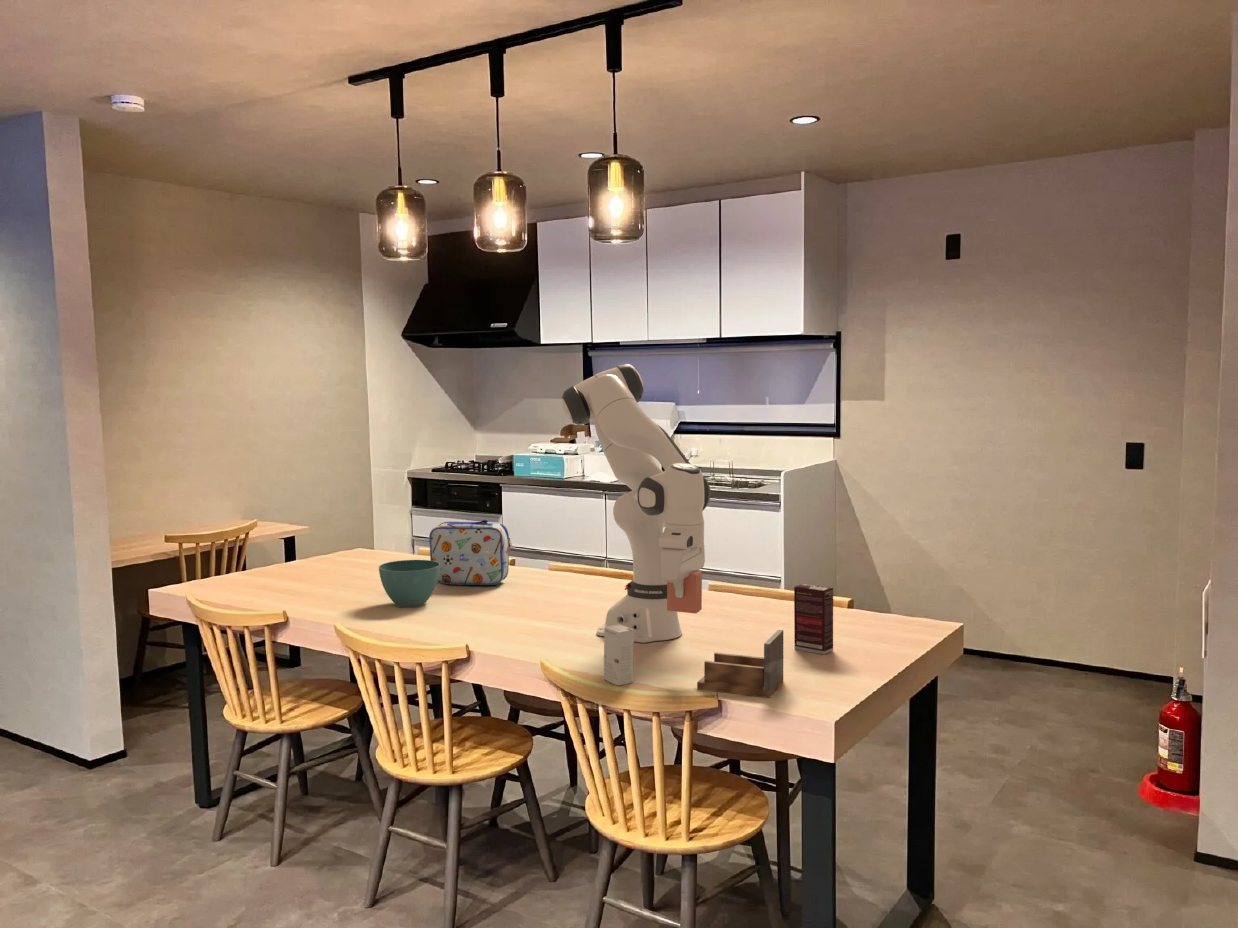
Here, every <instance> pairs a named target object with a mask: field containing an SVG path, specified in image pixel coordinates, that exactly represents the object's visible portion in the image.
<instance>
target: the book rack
mask: <svg viewBox="0 0 1238 928" xmlns="http://www.w3.org/2000/svg"><path fill="white" fill-rule="evenodd" d="M713 656H714V657H713V660H714V661H711V660H705V661H704V665H703V667H704V668H703V671H704V675H703V676H702V677H701V678H700V679H699V680H698V681H697V682H696V689H697V690H701V691H710V692H711V691H712V692H719V693H729V694H736V695H743V696H744V695H745V696H752V697H761V698H767V699H768V698H769V699H770V698H771V697H772V696H773V695H774V693H775V692H776V691H777V690H778V689H779V687H780V686H781V685H782V684H783V683H784V630H783V629H777V630H776V631H775V632H774V633H773V634H772V635H771V636H770V637H769V638H768V639H767V640H766V641H765V642H764V643H763V657H761V656H752V655H743V654H735V653H722V652H714V653H713Z"/></svg>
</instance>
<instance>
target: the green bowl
mask: <svg viewBox="0 0 1238 928" xmlns="http://www.w3.org/2000/svg"><path fill="white" fill-rule="evenodd" d="M378 572H379V573H378V574H379V578H380V581H381V585H382V587H383V589H384V591H385V593H386V595H387V596H388V597H389V599H390V600H391V601H392V603H393V604H394V605H396V607H399V608H406V609H407V608H408V609H409V608H418V607H422V606H424V605H425V604H426V603H427V602H428V600H430V598H431V596H432V594H433V593H434V591H435V589H436V586H437V584H438V582H437V581H438V578H439V573H440V563H439V562H436V561H430V560H429V559H402V560H395V561H394V560H393V561H388V562H384V563H381V564H380V565H379V566H378Z"/></svg>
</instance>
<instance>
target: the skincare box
mask: <svg viewBox="0 0 1238 928" xmlns="http://www.w3.org/2000/svg"><path fill="white" fill-rule="evenodd" d="M603 638H604V639H603V641H604V642H603V650H604V651H603V679H604V680H605V681H607V682H609V683H611V684H613V685H616V686H623V685H628V684H631V683H633V682H634V650H635V649H634V644H635V641H634V630H632V629H630V628H628V627H626V626H622V625H620V624H617V625H612V626H607V627H605V628H604V636H603Z"/></svg>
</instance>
